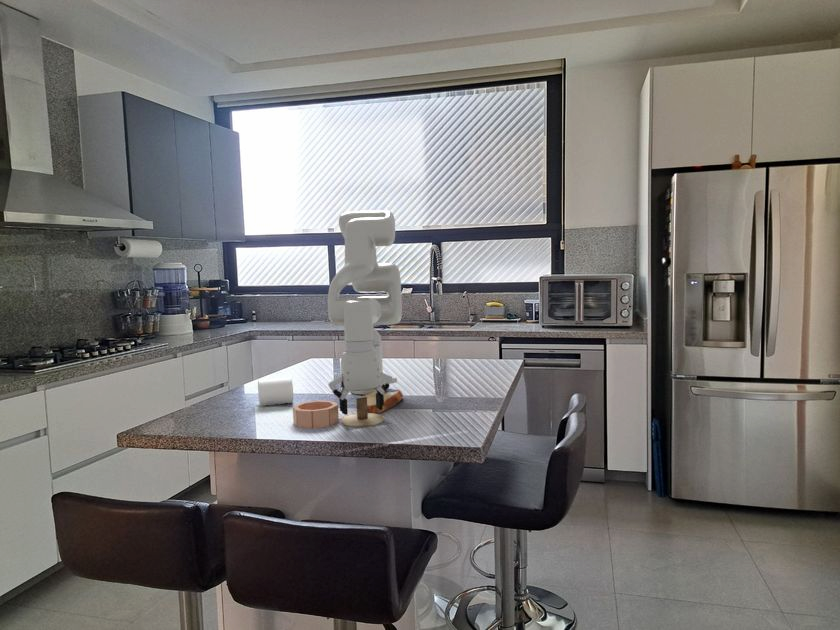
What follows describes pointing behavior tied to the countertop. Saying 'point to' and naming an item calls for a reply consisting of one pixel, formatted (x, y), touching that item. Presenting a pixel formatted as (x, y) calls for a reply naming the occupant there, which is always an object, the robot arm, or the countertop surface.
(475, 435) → the countertop surface
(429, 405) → the countertop surface
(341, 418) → the mat
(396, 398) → the bread slice
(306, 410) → the bowl
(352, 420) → the lid
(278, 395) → the mug
